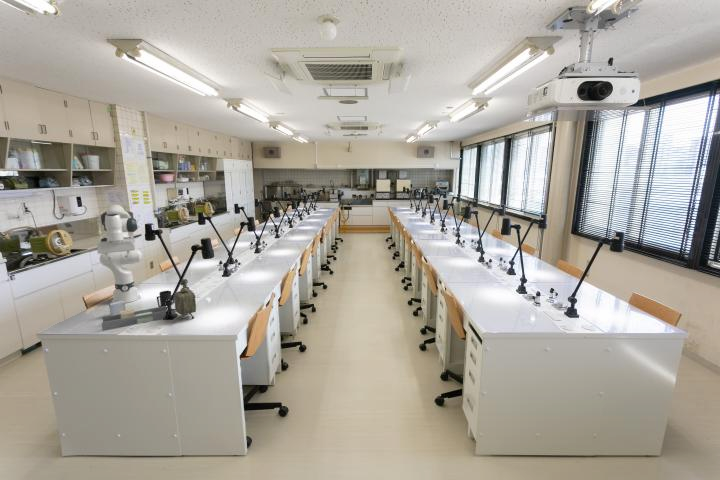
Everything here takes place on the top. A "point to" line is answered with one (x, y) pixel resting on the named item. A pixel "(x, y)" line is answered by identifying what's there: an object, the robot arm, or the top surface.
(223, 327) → the top surface
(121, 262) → the robot arm
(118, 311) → the medicine box
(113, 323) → the trap lane
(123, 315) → the maple block
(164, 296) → the black mug
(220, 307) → the top surface
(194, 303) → the olive backpack
